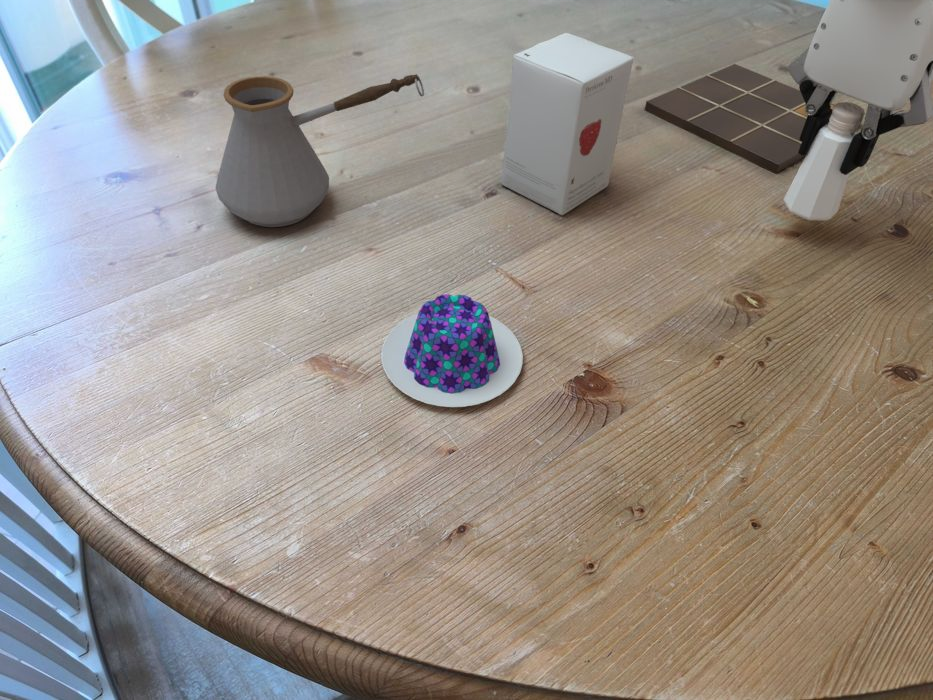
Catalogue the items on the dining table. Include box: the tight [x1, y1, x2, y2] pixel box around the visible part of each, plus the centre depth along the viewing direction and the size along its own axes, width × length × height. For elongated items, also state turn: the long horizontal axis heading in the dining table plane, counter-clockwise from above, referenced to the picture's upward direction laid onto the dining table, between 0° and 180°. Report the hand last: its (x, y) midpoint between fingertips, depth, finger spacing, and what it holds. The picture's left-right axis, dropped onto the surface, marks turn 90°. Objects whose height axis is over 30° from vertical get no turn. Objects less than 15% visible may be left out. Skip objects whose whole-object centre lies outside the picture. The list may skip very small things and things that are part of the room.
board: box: [644, 63, 864, 174], centre depth 98 cm, size 20×20×1 cm
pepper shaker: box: [783, 101, 866, 221], centre depth 74 cm, size 5×5×11 cm
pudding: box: [380, 293, 524, 408], centre depth 62 cm, size 12×12×5 cm
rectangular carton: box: [500, 32, 634, 216], centre depth 79 cm, size 9×9×15 cm
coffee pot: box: [215, 74, 425, 228], centre depth 74 cm, size 21×12×15 cm, turn 90°
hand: (829, 158), depth 74 cm, fingers closed on pepper shaker, 3 cm apart
